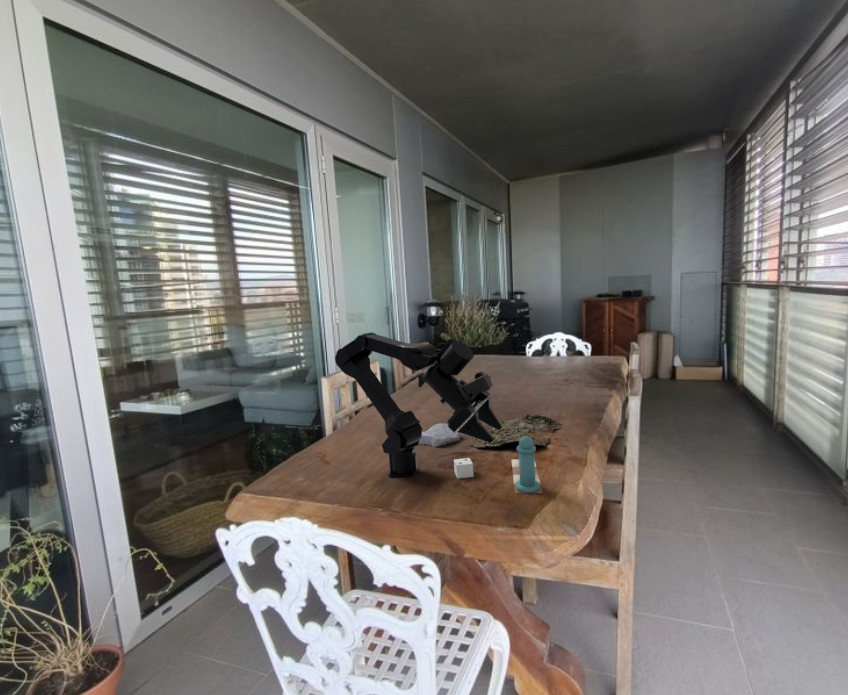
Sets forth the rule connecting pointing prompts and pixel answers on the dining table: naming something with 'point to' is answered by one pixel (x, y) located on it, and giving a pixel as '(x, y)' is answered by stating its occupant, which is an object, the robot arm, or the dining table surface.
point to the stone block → (439, 435)
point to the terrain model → (521, 430)
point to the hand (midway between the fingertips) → (496, 434)
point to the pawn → (527, 466)
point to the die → (463, 468)
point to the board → (517, 475)
